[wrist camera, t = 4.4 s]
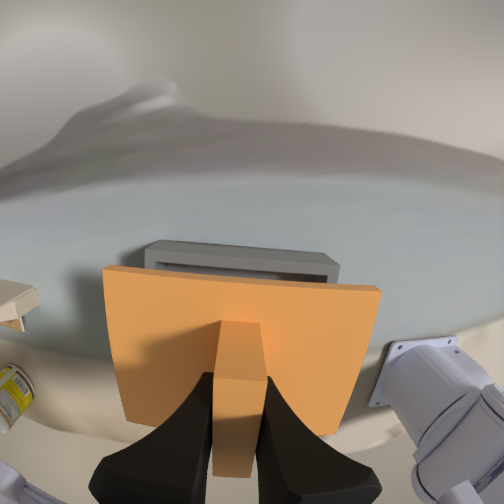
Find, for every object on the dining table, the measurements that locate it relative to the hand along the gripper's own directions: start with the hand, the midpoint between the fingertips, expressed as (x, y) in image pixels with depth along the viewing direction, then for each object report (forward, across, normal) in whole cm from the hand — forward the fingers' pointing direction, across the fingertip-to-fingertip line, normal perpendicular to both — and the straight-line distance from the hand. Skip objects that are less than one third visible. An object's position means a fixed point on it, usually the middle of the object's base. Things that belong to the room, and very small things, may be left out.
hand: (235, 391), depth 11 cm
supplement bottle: (+10, +27, +15) cm, 32 cm away
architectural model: (+11, +22, +2) cm, 25 cm away
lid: (+3, 0, 0) cm, 3 cm away
